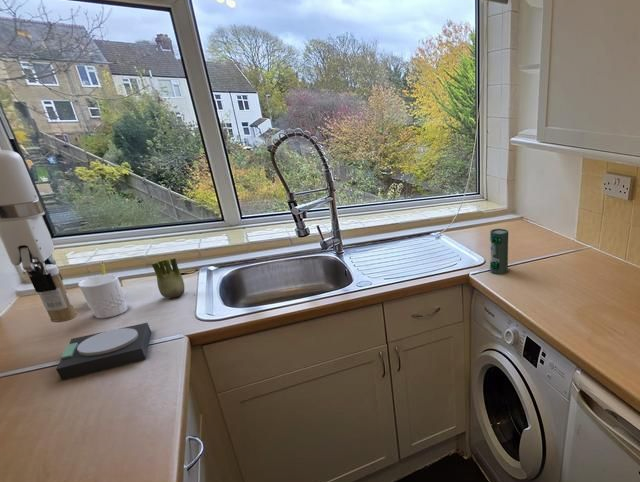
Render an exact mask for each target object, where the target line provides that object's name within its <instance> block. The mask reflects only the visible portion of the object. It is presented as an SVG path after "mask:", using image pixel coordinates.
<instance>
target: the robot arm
mask: <svg viewBox="0 0 640 482" xmlns="http://www.w3.org/2000/svg"><path fill="white" fill-rule="evenodd" d="M45 214H46V212H45V210H44V208H43V205H42V203H41V200H40V197H39V195H38V193H37V191H36V188H35V186H34V184H33V181H32V179H31V175H30V174H29V170H28V169H27V166H26V164H25V162H24V159H23V157H22V156H21V155H20V153H18V152H16V151H14V150H10V149H0V237H1V240H2V243H3V245H4V248H5V251H6V253H7V256H8V258H9V261H10V262H11V264H12V265H13V266H19V265H21V264H22V269H23V270H24V271H25V272H26V273H27V276H28V278H29V280H30V282H31V284H32V286H33V288H34V291H35V292H36V293H38V292H45V291H52V290H56V288H57V287H56V285H55V283H54V280H53V278H52V276H51V273H48V272H47V268H46V265H47V264H53V265H56V266H57V267H58V265H57V262H56V260H55V258H54V256H53V253H54V251H55V246H54V243H53V242H54V241H53V239H52V237H51V235H50V232H49V230H48V228H47V226H46V224H45V222H44V219H43V218H42V216H44V215H45ZM38 266H40V267H41V268H40V267H38ZM58 270H59V268H58ZM59 275H60V277H61V280H62V281H63V280H64V279H63V277H62V274H61V272H60V270H59Z"/></svg>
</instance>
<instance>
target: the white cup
mask: <svg viewBox="0 0 640 482" xmlns="http://www.w3.org/2000/svg"><path fill="white" fill-rule="evenodd" d="M77 287H78V288H79V290H80V292H81V293H82V296H83V298H84V300H85V301H86V303H87V305H88V306H89V309H91V311H92V312H93V314H94V316H95V318H97V319H107V318H111V317H116V316H118V315H121V314H124V313H125V312H126V311H127V310H128V309H129V308H128V305H127V303H126V298H125V294H124V291H123V287H121V285H120V282H119V276H118V275H117V274H106V275H103V274H102V275H97V276H92V277H88V278H85V279H83V280H81V281H80V282H78V284H77Z"/></svg>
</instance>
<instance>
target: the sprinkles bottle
mask: <svg viewBox="0 0 640 482" xmlns="http://www.w3.org/2000/svg"><path fill="white" fill-rule="evenodd" d="M56 265H57V264H56ZM56 265H53V264H47V265H46V268H47V272H48V273H51V276H52V278H53V280H54V283H55V285H56V287H57V288H56V290H52V291H45V292H37V294H38V295H39V298H40V300H41V302H42V304H43V306H44V309H45V311H46V312H47V314H48V317H49V318H50V319H49V320H50V322H51V323H63V322H68V321H72V320H73V319H75V318H76V317H78V313H77V312H76V309H75V307H74V305H73V302H72V299H71V297H70V295H69V293H68V291H67V289H66V287H65V285H64V281H63V280H61V277H60V275H59V272H60V270H58V269H59V267H58V265H57V266H56ZM38 267H40V266H38ZM40 268H41V267H40Z"/></svg>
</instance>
